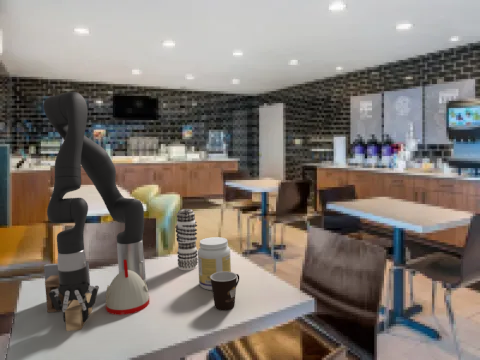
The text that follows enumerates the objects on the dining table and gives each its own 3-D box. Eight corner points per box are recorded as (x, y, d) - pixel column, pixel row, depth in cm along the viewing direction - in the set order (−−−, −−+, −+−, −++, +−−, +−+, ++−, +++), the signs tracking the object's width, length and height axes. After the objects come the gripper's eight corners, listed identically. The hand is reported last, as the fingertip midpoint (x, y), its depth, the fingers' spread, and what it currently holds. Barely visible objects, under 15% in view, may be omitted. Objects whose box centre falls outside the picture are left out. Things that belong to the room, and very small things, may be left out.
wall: (91, 297, 126) (88, 261, 125) (89, 298, 125) (87, 262, 123) (48, 300, 124) (45, 264, 123) (47, 302, 123) (43, 265, 121)
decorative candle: (202, 264, 157) (200, 208, 155) (192, 271, 149) (189, 212, 146) (184, 262, 161) (181, 207, 158) (173, 269, 152) (170, 211, 149)
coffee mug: (218, 314, 111) (216, 283, 110) (207, 303, 118) (206, 274, 117) (250, 305, 116) (250, 276, 115) (238, 296, 124) (237, 268, 123)
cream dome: (147, 293, 128) (145, 252, 127) (151, 309, 115) (149, 264, 114) (105, 300, 123) (102, 258, 122) (105, 318, 110) (102, 271, 109)
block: (78, 303, 121) (76, 273, 120) (73, 309, 116) (71, 279, 115) (53, 305, 120) (50, 275, 119) (47, 312, 115) (44, 281, 114)
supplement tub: (223, 276, 143) (222, 234, 141) (236, 287, 132) (235, 242, 130) (194, 282, 137) (192, 239, 136) (205, 293, 126) (203, 247, 125)
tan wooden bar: (92, 310, 116) (90, 292, 115) (80, 329, 104) (79, 309, 103) (79, 311, 115) (77, 293, 115) (66, 330, 103) (64, 311, 103)
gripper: (100, 259, 109) (104, 313, 111) (51, 263, 107) (55, 318, 109) (94, 268, 102) (98, 325, 104) (41, 272, 100) (46, 330, 102)
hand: (76, 321), depth 106 cm, fingers closed on tan wooden bar, 4 cm apart
